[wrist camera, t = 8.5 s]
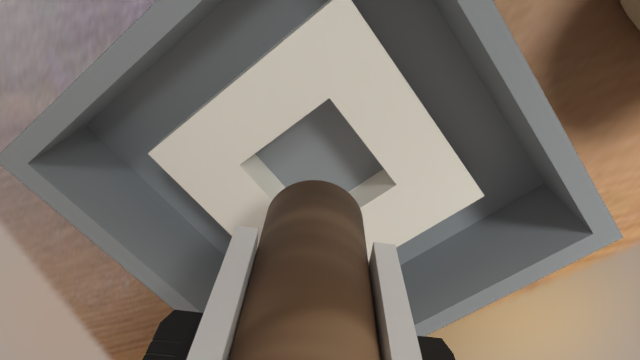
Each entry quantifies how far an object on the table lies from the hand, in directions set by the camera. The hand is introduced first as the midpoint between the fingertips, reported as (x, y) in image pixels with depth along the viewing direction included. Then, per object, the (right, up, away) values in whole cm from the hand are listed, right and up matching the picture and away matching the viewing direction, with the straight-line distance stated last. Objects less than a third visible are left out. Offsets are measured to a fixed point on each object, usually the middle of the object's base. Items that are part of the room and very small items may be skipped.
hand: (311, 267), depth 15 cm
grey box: (0, +5, +9) cm, 11 cm away
